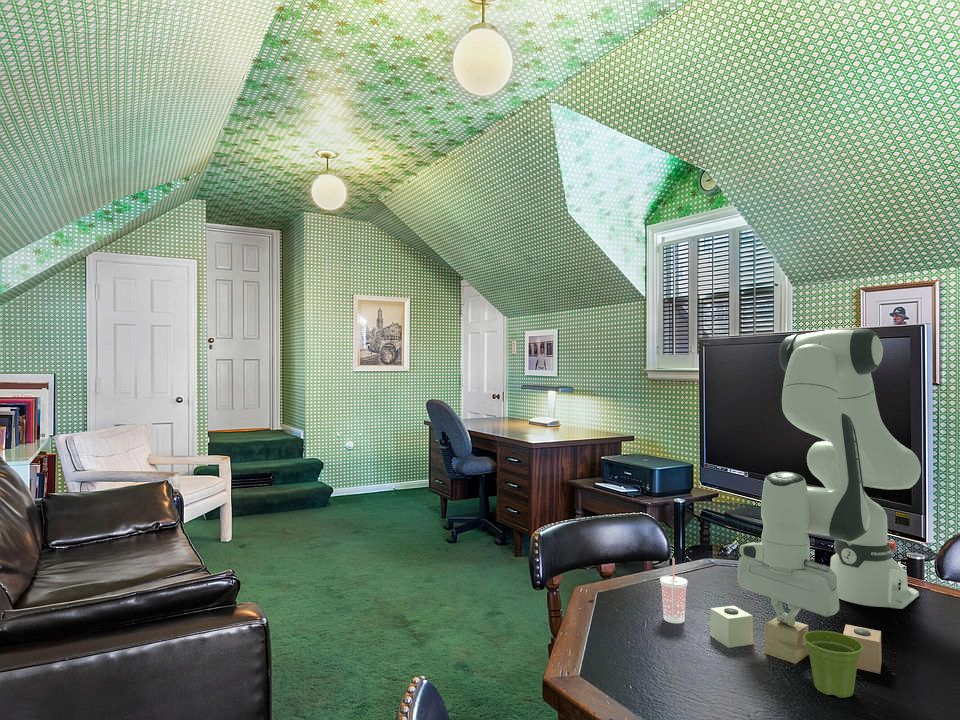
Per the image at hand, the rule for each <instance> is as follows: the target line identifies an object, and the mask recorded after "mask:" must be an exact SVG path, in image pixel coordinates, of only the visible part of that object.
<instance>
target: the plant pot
mask: <svg viewBox="0 0 960 720" xmlns="http://www.w3.org/2000/svg"><path fill="white" fill-rule="evenodd" d="M803 639H804V641H805V642H806V646H807V648H808V653H809V655H808V657H809V661H810V666H811V673H812V678H813V685H814V688H815V689H817V691H819V692H820V693H822V694H823V695H827V696H829V695H830V696H831V695H833V696H835V697H837V698H843V699H844V698H849V697H852V696H853V694H854V691H855V684H856V683H855V682H856V677H857V670H858V669H857V663H858V659H859V657H860V653H861V652H862V651H863V645H862V643H861V642H859V641H858V640H856V639H854V638H852V637H850V636H847V635H844V634H843V633H840V632H836V631H831V630H830V631H829V630H811V631H808V632H807V633H805V634H804V635H803Z"/></svg>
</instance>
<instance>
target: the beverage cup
mask: <svg viewBox="0 0 960 720" xmlns="http://www.w3.org/2000/svg"><path fill="white" fill-rule="evenodd" d="M671 559H672V575H665V576H664V575H663V576H662V577H660V578H659V581H660V585H661V599H662V612H663V620H664V621H665V622H668V623H671V624H682V623H684V622H685V615H686V602H687V601H686V599H687V598H686V597H687V586H688V583H689V582H688V579H686V578H684V577H681V576H676V575H675V574H676V572H675V571H676V567H675V566H676V565H675V564H676V563H675V561H676V560H675V557H672V558H671Z"/></svg>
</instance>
